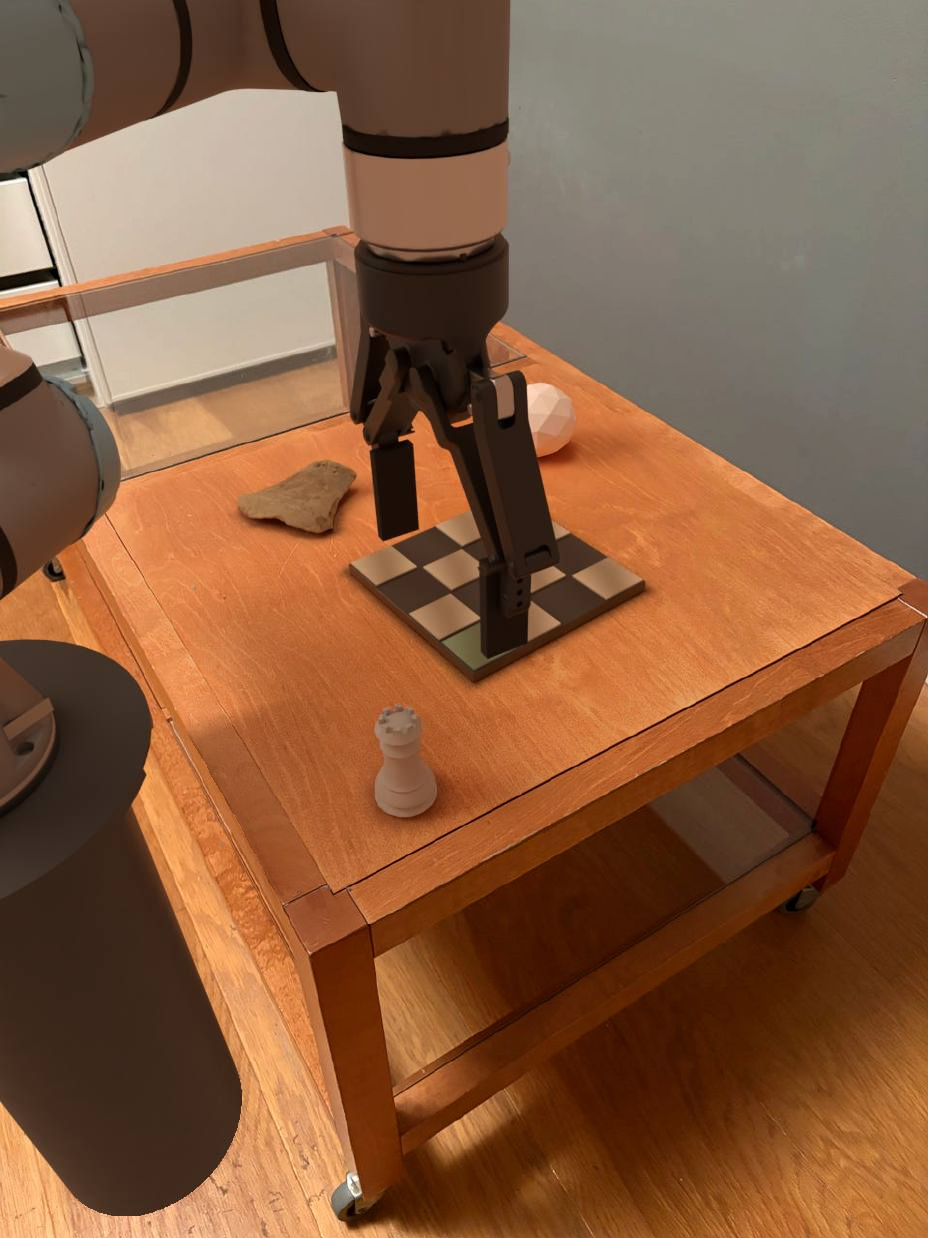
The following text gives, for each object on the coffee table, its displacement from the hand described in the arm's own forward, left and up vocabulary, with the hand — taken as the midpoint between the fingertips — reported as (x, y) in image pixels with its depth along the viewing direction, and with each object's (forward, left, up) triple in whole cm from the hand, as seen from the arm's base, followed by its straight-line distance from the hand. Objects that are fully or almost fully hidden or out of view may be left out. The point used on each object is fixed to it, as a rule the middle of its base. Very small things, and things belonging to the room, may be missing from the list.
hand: (447, 586), depth 59 cm
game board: (+16, +16, -16) cm, 28 cm away
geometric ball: (+34, +31, -17) cm, 49 cm away
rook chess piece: (-5, 0, -17) cm, 17 cm away
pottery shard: (+8, +38, -17) cm, 43 cm away
